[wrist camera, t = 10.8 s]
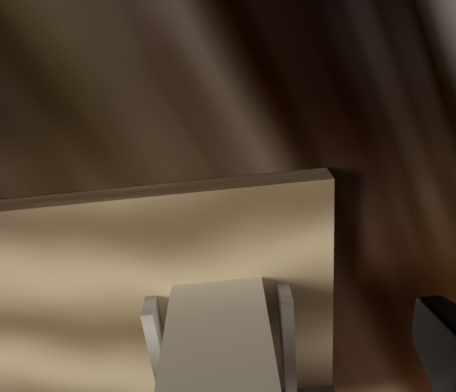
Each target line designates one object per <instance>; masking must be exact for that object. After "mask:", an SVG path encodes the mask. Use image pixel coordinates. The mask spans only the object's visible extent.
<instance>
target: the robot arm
mask: <svg viewBox="0 0 456 392" xmlns="http://www.w3.org/2000/svg"><path fill="white" fill-rule="evenodd" d="M412 338H413V343H414V346H415V348H416V351H417V353H418V356H419V358H420V361H421V363H422V366H423V368H424V371H425V373H426V376H427V378H428V381H429V383H430V386H431V388H432V391H433V392H456V303H454V302H452V301H450V300H448V299H447V298H445V297H443V296H439V295H435V296H424V297H419V298H418V299H417V300H416V302H415V308H414V317H413V326H412Z"/></svg>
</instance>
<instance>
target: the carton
mask: <svg viewBox="0 0 456 392" xmlns="http://www.w3.org/2000/svg"><path fill="white" fill-rule="evenodd" d="M154 392H282V391H281V386H280V380H279V374H278V369H277V363H276V357H275V351H274V346H273V340H272V334H271V328H270V323H269V317H268V311H267V306H266V300H265V294H264V288H263V283H262V277H255V278H244V279H233V280H222V281H212V282H201V283H190V284H180V285H171V290H170V296H169V302H168V308H167V315H166V321H165V327H164V333H163V340H162V346H161V352H160V358H159V364H158V371H157V377H156V383H155V389H154Z"/></svg>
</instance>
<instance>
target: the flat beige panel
mask: <svg viewBox="0 0 456 392" xmlns="http://www.w3.org/2000/svg"><path fill="white" fill-rule="evenodd" d="M334 186H335V179H334V177H333V176H332V174H331V173H330V172H329V170H328V169H327V167H326V168H316V169H306V170H296V171H286V172H276V173H266V174H256V175H246V176H236V177H225V178H215V179H205V180H195V181H185V182H175V183H165V184H155V185H145V186H135V187H125V188H114V189H104V190H94V191H84V192H74V193H64V194H54V195H44V196H34V197H24V198H14V199H3V200H0V392H154V389H155V383H156V377H157V371H158V364H159V358H160V352H161V346H162V340H163V333H164V327H165V321H166V315H167V308H168V302H169V296H170V290H171V285H180V284H190V283H201V282H212V281H222V280H233V279H244V278H255V277H262V283H263V288H264V294H265V300H266V306H267V311H268V317H269V323H270V328H271V334H272V340H273V346H274V351H275V357H276V363H277V369H278V374H279V380H280V386H281V391H282V392H335V391H334V388H333V287H334Z"/></svg>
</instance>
